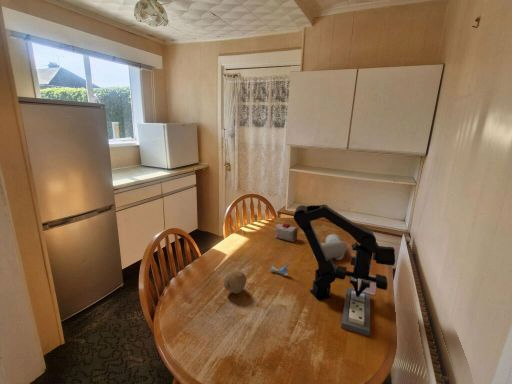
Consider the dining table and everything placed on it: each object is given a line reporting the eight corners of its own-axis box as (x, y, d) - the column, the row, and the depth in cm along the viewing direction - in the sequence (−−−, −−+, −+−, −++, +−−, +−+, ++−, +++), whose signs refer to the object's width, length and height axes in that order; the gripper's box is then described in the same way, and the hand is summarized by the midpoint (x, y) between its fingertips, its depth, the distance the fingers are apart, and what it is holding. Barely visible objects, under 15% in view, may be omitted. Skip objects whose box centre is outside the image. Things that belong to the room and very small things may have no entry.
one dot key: (363, 306, 100) (364, 301, 99) (350, 302, 102) (350, 297, 101) (363, 298, 104) (364, 293, 104) (350, 295, 106) (351, 290, 105)
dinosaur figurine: (283, 279, 121) (270, 267, 123) (298, 263, 116) (284, 250, 118) (281, 282, 119) (268, 269, 121) (296, 265, 113) (282, 253, 115)
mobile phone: (356, 288, 110) (360, 271, 123) (355, 290, 110) (359, 273, 123) (375, 294, 107) (377, 276, 120) (375, 296, 107) (377, 277, 120)
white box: (272, 238, 158) (273, 223, 155) (278, 233, 165) (279, 219, 162) (293, 243, 151) (294, 228, 149) (298, 238, 158) (299, 224, 155)
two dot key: (363, 327, 88) (364, 321, 87) (347, 322, 90) (348, 316, 89) (363, 317, 92) (364, 312, 92) (349, 313, 94) (349, 307, 94)
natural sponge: (225, 301, 101) (225, 279, 98) (222, 287, 109) (222, 266, 106) (248, 297, 103) (248, 276, 100) (243, 284, 111) (243, 264, 109)
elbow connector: (350, 264, 128) (343, 246, 147) (348, 245, 126) (341, 229, 145) (314, 267, 131) (312, 249, 150) (311, 249, 129) (310, 233, 148)
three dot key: (363, 317, 94) (364, 312, 93) (348, 313, 96) (349, 308, 95) (363, 309, 98) (364, 303, 98) (349, 305, 100) (350, 299, 100)
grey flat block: (369, 336, 86) (369, 331, 85) (341, 327, 89) (341, 322, 89) (369, 297, 105) (369, 293, 105) (346, 291, 109) (346, 287, 108)
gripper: (388, 256, 102) (382, 290, 106) (339, 246, 109) (335, 279, 113) (390, 270, 92) (383, 307, 96) (336, 258, 99) (332, 293, 103)
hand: (357, 295), depth 102 cm, fingers closed, pressing on one dot key
